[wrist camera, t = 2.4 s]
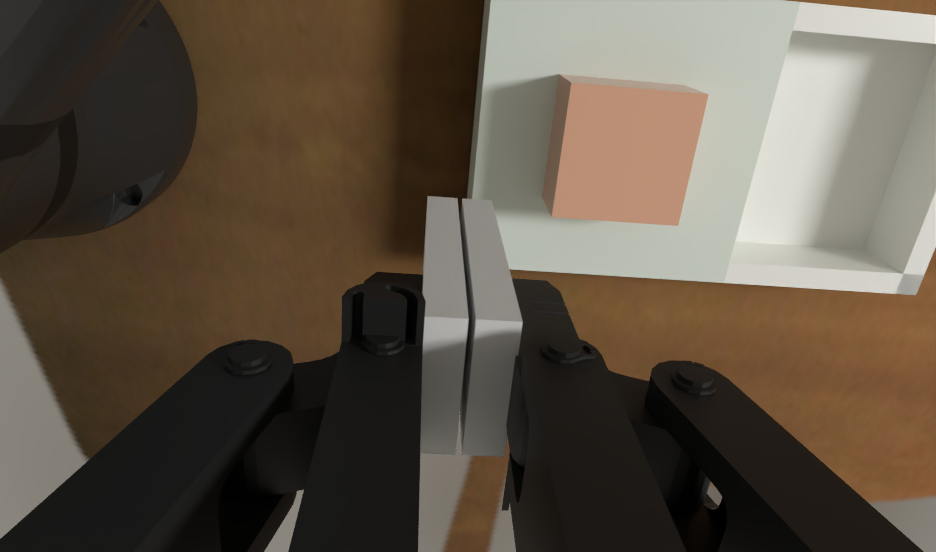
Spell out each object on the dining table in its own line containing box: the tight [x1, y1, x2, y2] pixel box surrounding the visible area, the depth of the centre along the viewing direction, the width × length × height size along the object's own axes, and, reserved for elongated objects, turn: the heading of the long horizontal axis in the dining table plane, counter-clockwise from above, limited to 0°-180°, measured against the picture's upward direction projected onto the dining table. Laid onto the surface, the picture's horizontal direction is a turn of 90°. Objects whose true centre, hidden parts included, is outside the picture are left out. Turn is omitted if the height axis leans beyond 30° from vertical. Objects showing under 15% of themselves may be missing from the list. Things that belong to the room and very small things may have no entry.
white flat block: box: [467, 0, 800, 283], centre depth 33 cm, size 14×14×4 cm
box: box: [724, 2, 936, 295], centre depth 34 cm, size 11×14×4 cm
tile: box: [542, 74, 709, 226], centre depth 30 cm, size 6×6×3 cm
